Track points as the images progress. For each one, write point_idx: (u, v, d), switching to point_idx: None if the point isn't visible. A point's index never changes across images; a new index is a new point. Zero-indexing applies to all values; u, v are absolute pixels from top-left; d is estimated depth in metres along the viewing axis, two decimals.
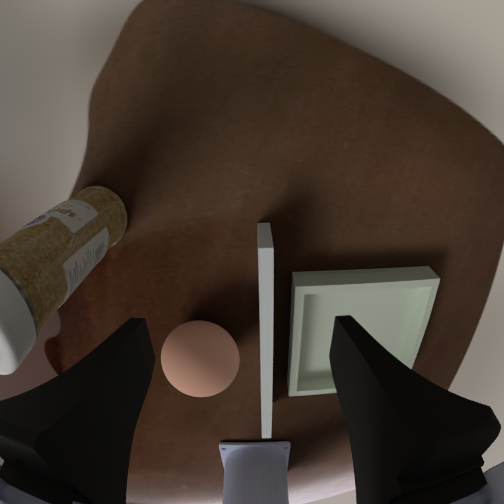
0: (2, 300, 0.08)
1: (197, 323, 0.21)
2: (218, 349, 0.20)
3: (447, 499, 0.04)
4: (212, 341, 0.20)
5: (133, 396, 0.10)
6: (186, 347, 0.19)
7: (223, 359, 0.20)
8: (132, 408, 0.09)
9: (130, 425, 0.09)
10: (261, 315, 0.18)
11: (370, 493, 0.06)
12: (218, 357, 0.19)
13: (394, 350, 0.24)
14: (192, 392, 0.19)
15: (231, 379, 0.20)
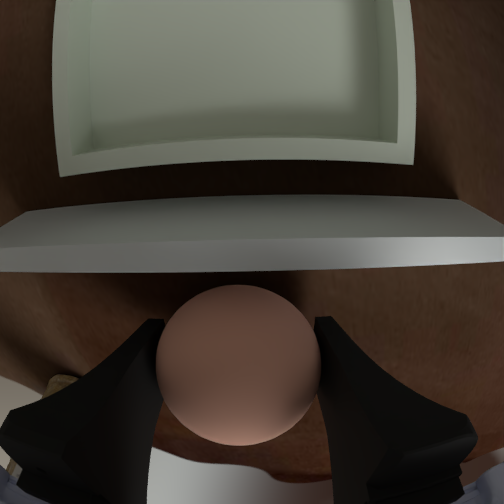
0: None
1: None
2: (166, 352, 0.09)
3: None
4: (158, 354, 0.09)
5: (153, 398, 0.10)
6: (165, 401, 0.09)
7: (182, 354, 0.08)
8: (152, 410, 0.09)
9: (149, 428, 0.09)
10: (59, 269, 0.07)
11: (344, 498, 0.06)
12: (174, 363, 0.08)
13: None
14: (258, 434, 0.08)
15: (253, 344, 0.08)
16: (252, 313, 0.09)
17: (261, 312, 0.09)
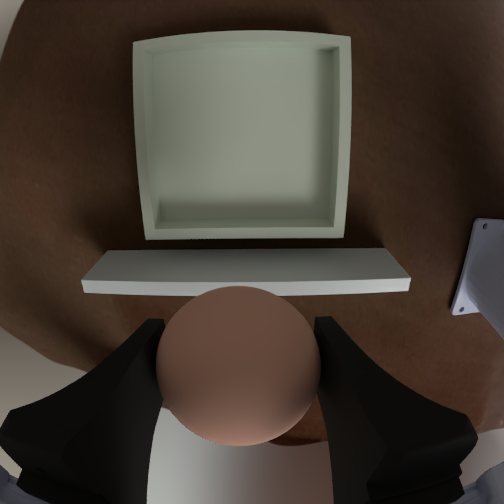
0: None
1: None
2: (166, 354, 0.09)
3: None
4: (159, 355, 0.09)
5: (153, 398, 0.10)
6: (165, 402, 0.09)
7: (182, 355, 0.08)
8: (152, 410, 0.09)
9: (150, 428, 0.09)
10: (153, 293, 0.16)
11: (345, 498, 0.06)
12: (174, 364, 0.08)
13: (288, 62, 0.14)
14: (258, 435, 0.08)
15: (253, 345, 0.08)
16: (252, 314, 0.09)
17: (261, 313, 0.09)
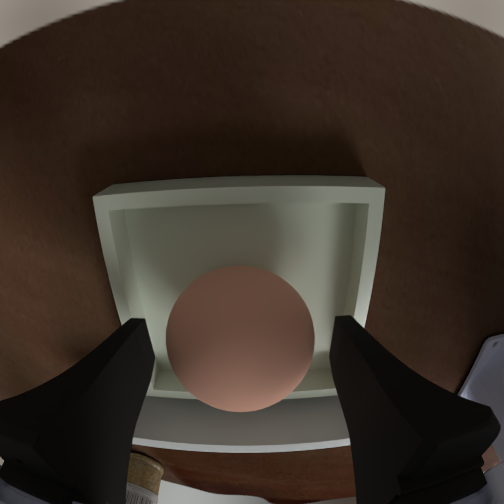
0: None
1: None
2: (176, 323, 0.10)
3: (447, 499, 0.04)
4: (169, 326, 0.10)
5: (133, 396, 0.10)
6: None
7: (191, 323, 0.10)
8: (132, 408, 0.09)
9: (130, 425, 0.09)
10: (160, 446, 0.14)
11: (370, 494, 0.06)
12: (184, 331, 0.10)
13: (299, 213, 0.13)
14: (258, 397, 0.09)
15: (254, 312, 0.09)
16: (253, 287, 0.10)
17: (260, 286, 0.10)
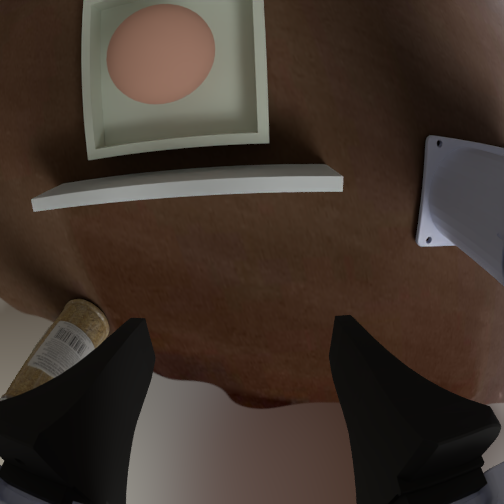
0: None
1: None
2: None
3: (447, 499, 0.04)
4: None
5: (133, 396, 0.10)
6: (107, 64, 0.12)
7: (125, 19, 0.11)
8: (132, 408, 0.09)
9: (130, 425, 0.09)
10: (88, 203, 0.16)
11: (370, 493, 0.06)
12: (119, 25, 0.11)
13: (211, 0, 0.14)
14: (158, 45, 0.11)
15: (163, 5, 0.11)
16: None
17: None
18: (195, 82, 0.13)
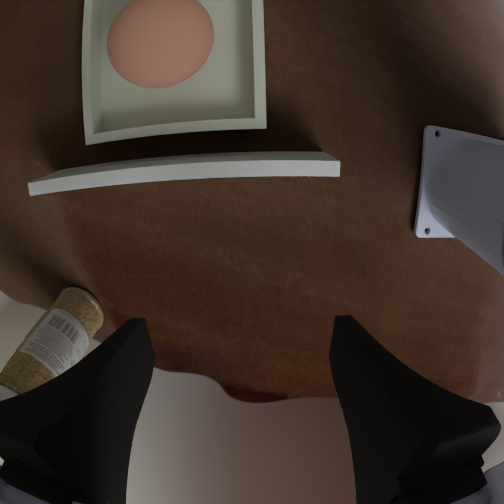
0: None
1: None
2: (118, 14, 0.11)
3: (446, 499, 0.04)
4: None
5: (133, 396, 0.10)
6: (107, 48, 0.12)
7: (126, 5, 0.11)
8: (132, 408, 0.09)
9: (130, 425, 0.09)
10: (84, 186, 0.16)
11: (370, 493, 0.06)
12: (121, 10, 0.11)
13: None
14: (158, 28, 0.11)
15: None
16: None
17: None
18: (194, 66, 0.13)
